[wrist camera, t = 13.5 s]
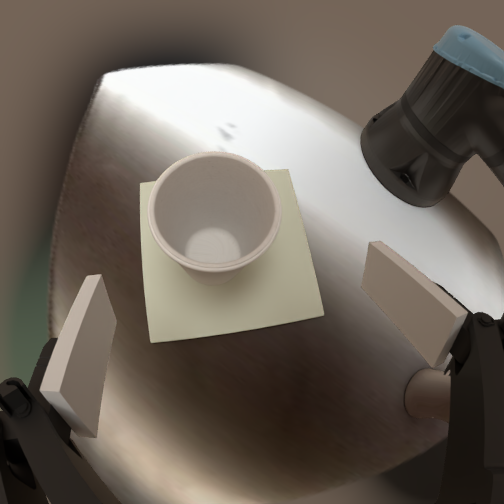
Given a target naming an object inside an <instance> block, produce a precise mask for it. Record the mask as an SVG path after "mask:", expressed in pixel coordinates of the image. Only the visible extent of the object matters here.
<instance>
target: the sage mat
mask: <svg viewBox="0 0 504 504" xmlns="http://www.w3.org/2000/svg"><path fill="white" fill-rule="evenodd" d="M264 172H265V173H266V174H267V175H268V176H269V177H270V179H271V180H272V181H273V183H274V185H275V187H276V189H277V191H278V193H279V196H280V200H281V206H282V219H281V224H280V228H279V231H278V234H277V236H276V238H275V240H274V241H273V243H272V244H271V246H270V247H269V248H268V249H267V251H266V252H265V253H264V254H262V255H261V256H260V257H259V258H258V259H256V260H255V261H253V262H252V263H250V264H248V265H246V266H245V267H244V268H243V269H242V270H241V271H240V272H239V273H238V274H237V275H236V276H234V277H233V278H232V279H231V280H230V281H228V282H226V283H223V284H220V285H205V284H202V283H199V282H197V281H195V280H194V279H193V278H192V277H190V275H189V274H188V273H187V272H186V271H185V270H184V269H183V268H182V267H181V266H180V265H179V263H177V262H176V261H174V260H173V259H171V258H170V257H169V256H168V255H166V254H165V253H164V252H163V251H162V249H161V248H160V247H159V246H158V244H157V243H156V241H155V240H154V238H153V236H152V234H151V231H150V228H149V224H148V218H147V206H148V200H149V196H150V193H151V191H152V188H153V186H154V185H155V183H156V181H153V182H146V183H140V224H141V249H142V266H143V279H144V291H145V301H146V311H147V319H148V327H149V335H150V342H151V343H157V342H167V341H176V340H184V339H192V338H200V337H207V336H214V335H221V334H228V333H234V332H240V331H247V330H253V329H258V328H264V327H270V326H275V325H280V324H286V323H291V322H296V321H301V320H306V319H310V318H315V317H320V316H323V315H324V311H323V306H322V301H321V297H320V292H319V288H318V283H317V279H316V275H315V270H314V266H313V262H312V258H311V253H310V249H309V245H308V241H307V237H306V233H305V229H304V226H303V222H302V218H301V214H300V210H299V207H298V203H297V199H296V195H295V192H294V188H293V185H292V181H291V178H290V174H289V171H288V169H282V170H264Z"/></svg>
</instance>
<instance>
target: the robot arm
mask: <svg viewBox="0 0 504 504" xmlns="http://www.w3.org/2000/svg"><path fill="white" fill-rule="evenodd" d="M433 49H434V51H433V52H432V54H431V55H430V57H429V58H428V60H427V61H426V63H425V64H424V65H423V67H422V68H421V70H420V71H419V73H418V74H417V76H416V77H415V78H414V80H413V81H412V83H411V84H410V85H409V87H408V88H407V90H406V91H405V93H404V94H403V96H402V97H401V98H400V99H399V100H398V101H396V102H395V103H393V104H392V105H390V106H388V107H387V108H386V109H384V110H382V111H381V112H380V113H378V114H376V115H375V116H373V117H372V118H371V120H370V121H369V122H368V124H367V125H366V127H365V128H364V130H363V132H362V135H361V147H362V151H363V154H364V157H365V159H366V161H367V163H368V165H369V167H370V168H371V170H372V171H373V173H374V174H375V176H376V177H377V178H378V179H379V181H380V182H381V183H382V184H383V185H384V186H385V187H386V188H387V189H388V190H389V191H391V192H392V193H393V194H394V195H396V196H397V197H399V198H400V199H402V200H403V201H405V202H407V203H410V204H412V205H415V206H419V207H429V206H433V205H435V204H436V203H438V202H439V201H440V200H441V199H443V198H444V197H445V196H446V195H447V194H448V193H449V191H450V189H451V187H452V185H453V184H454V182H455V180H456V178H457V176H458V174H459V172H460V170H461V168H462V166H463V165H464V163H465V162H467V161H468V160H469V159H470V158H471V157H472V156H473V155H475V154H478V155H479V156H480V157H481V158H482V160H483V161H484V162H485V163H486V164H487V166H488V167H489V168H490V169H491V171H492V172H493V173H494V174H495V176H496V177H497V178H498V180H499V181H500V182H501V184H502V185H503V186H504V51H503V50H501V49H500V48H499V47H498V46H496V45H495V44H494V43H492V42H491V41H489V40H488V39H487V38H485V37H483V36H482V35H480V34H479V33H477V32H475V31H473V30H472V29H469V28H467V27H464V26H459V25H456V26H452V27H451V28H449V29H448V30H447V32H446V33H445V34H444V36H443V37H442V38H441V40H440V41H439V42H438V43H437V44H435V45H434V47H433ZM361 288H362V289H363V290H364V291H365V292H366V293H367V294H368V295H369V296H370V297H371V298H372V299H373V301H374V302H375V303H376V304H377V305H378V306H379V307H380V308H381V309H382V310H383V312H384V313H385V314H386V315H387V316H388V317H389V318H390V319H391V321H392V322H393V323H394V324H395V325H396V326H397V327H398V328H399V330H400V331H401V332H402V333H403V334H404V335H405V337H406V338H407V339H408V340H409V341H410V342H411V343H412V345H413V346H414V347H415V348H416V349H417V351H418V352H419V353H420V354H421V355H422V356H423V358H424V359H425V360H426V361H427V362H428V364H429V365H430V366H431V367H432V368H434V367H436V366H438V365H440V364H442V363H443V362H444V361H445V359H446V357H447V355H448V354H449V352H450V353H451V354H452V356H453V357H452V359H451V361H450V362H449V364H448V366H447V368H446V369H445V371H444V375H446V374H447V372H448V370H450V374H449V375H448V376H450V379H451V387H450V417H449V431H448V442H447V450H446V458H445V464H444V471H443V477H442V482H441V487H440V492H439V496H438V499H437V501H436V502H435V504H504V313H503V315H502V317H501V319H498V320H494V319H493V318H492V317H491V316H489V315H488V314H486V313H483V312H477V313H475V314H473V313H472V312H471V311H469V310H468V309H467V308H466V307H465V306H464V305H463V304H462V303H460V302H459V301H458V300H457V299H456V298H453V296H452V295H451V294H450V293H448V291H446V290H445V289H444V288H443V287H442V286H440V285H438V284H436V283H434V282H433V281H431V280H430V279H429V278H428V277H426V276H425V275H424V274H423V273H421V272H420V271H419V270H418V269H416V268H415V267H414V266H413V265H411V264H410V263H409V262H408V261H406V260H405V259H404V258H402V257H401V256H400V255H399V254H397V253H396V252H395V251H393V250H392V249H391V248H389V247H388V246H387V245H385V244H384V243H383V242H381V241H376V242H369V246H368V252H367V258H366V264H365V270H364V275H363V280H362V285H361ZM116 323H117V321H116V318H115V315H114V312H113V309H112V306H111V303H110V300H109V297H108V294H107V291H106V288H105V285H104V281H103V278H102V275H101V274H100V275H91V276H87V277H86V279H85V281H84V283H83V285H82V287H81V289H80V291H79V293H78V295H77V297H76V299H75V301H74V303H73V306H72V308H71V310H70V312H69V314H68V317H67V319H66V321H65V323H64V326H63V328H62V331H61V333H60V335H59V338H51V339H50V340H49V341H48V342H47V343H46V345H45V346H44V347H43V349H42V352H41V354H40V359H38V362H37V364H36V365H37V367H35V369H34V372H33V375H32V377H31V380H30V383H29V386H28V388H27V387H26V385H25V384H24V383H23V381H22V380H21V379H19V378H9V379H6V380H5V381H3V382H2V383H1V384H0V408H1V409H2V410H3V411H0V504H49V503H48V500H47V498H46V496H47V497H48V499H49V501H50V502H51V504H122V503H121V502H120V501H119V500H118V499H117V498H116V497H115V495H114V494H113V493H112V492H111V491H110V490H109V488H108V487H107V486H106V485H105V484H104V482H103V481H102V480H101V479H100V477H99V476H98V475H97V474H96V472H95V471H94V470H93V468H92V467H91V466H90V464H89V463H88V462H87V460H86V459H85V457H84V456H83V455H82V453H81V452H80V450H79V449H78V447H77V446H76V444H75V443H74V441H73V440H72V439H71V438H70V432H71V429H72V430H73V431H74V432H75V433H76V435H77V436H78V437H89V438H97V430H98V422H99V414H100V407H101V400H102V394H103V387H104V381H105V376H106V370H107V365H108V360H109V355H110V350H111V345H112V341H113V336H114V332H115V328H116ZM45 494H46V495H45Z"/></svg>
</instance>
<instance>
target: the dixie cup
mask: <svg viewBox="0 0 504 504" xmlns="http://www.w3.org/2000/svg"><path fill="white" fill-rule="evenodd" d="M147 218H148V224H149V228H150V231H151V234H152V236H153V238H154V240H155V241H156V243H157V244H158V246H159V247H160V248H161V249H162V251H163V252H164V253H165V254H166V255H168V256H169V257H170V258H171V259H173V260H174V261H176V262H177V263H179V265H180V266H181V267H182V268H183V269H184V270H185V271H186V272H187V273H188V274H189V275H190V277H192V278H193V279H194V280H195V281H197V282H199V283H202V284H205V285H220V284H223V283H226V282H228V281H230V280H231V279H232V278H233V277H234V276H236V275H237V274H238V273H239V272H240V271H241V270H242V269H243V268H244V267H245V266H246V265H248V264H250V263H252V262H253V261H255V260H256V259H258V258H259V257H260V256H261V255H262V254H264V253H265V252H266V251H267V249H268V248H269V247H270V246H271V244H272V243H273V241H274V240H275V238H276V236H277V234H278V231H279V228H280V224H281V219H282V206H281V200H280V196H279V193H278V191H277V189H276V187H275V185H274V183H273V181H272V180H271V179H270V177H269V176H268V175H267V174H266V173H265V172H264V171H263V170H262V169H261V168H260V167H259V166H257V165H256V164H254V163H253V162H251V161H250V160H248V159H246V158H243V157H241V156H238V155H235V154H231V153H226V152H203V153H198V154H194V155H191V156H188V157H185V158H183V159H181V160H179V161H178V162H176V163H174V164H173V165H171V166H170V167H169V168H168V169H167V170H166V171H165V172H164V173H163V174H162V175H161V176H160V177H159V178H158V180H157V181H156V183H155V185H154V186H153V188H152V191H151V193H150V196H149V200H148V206H147Z"/></svg>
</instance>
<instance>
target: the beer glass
mask: <svg viewBox="0 0 504 504" xmlns="http://www.w3.org/2000/svg"><path fill="white" fill-rule="evenodd" d="M449 374H450V371H448V372H447V374H446V375H444V371H440V370H436V369H432V368H425V369H422V370H420V371H418V372H417V373H416V374H415V375H414V376H413V377H412V378H411V380H410V381H409V383H408V386H407V388H406V392H405V399H404V401H405V408H406V410H407V412H408V413H409V415H410V416H412V417H414V418H418V419H422V418H436V419H440V420H442V421H445V422H447V423H449V417H450V387H451V379H450V376H448V375H449Z"/></svg>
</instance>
